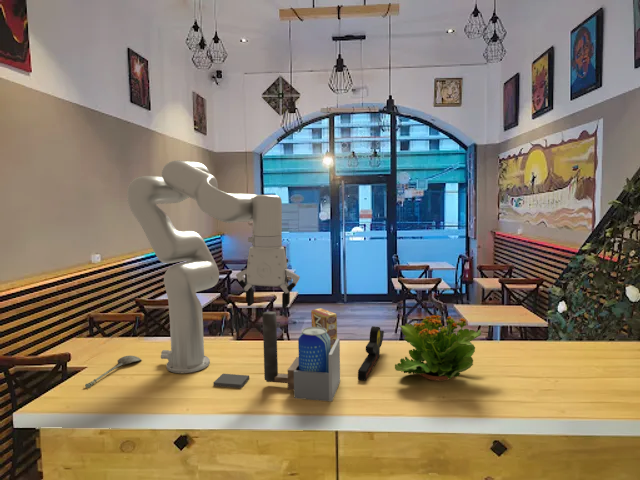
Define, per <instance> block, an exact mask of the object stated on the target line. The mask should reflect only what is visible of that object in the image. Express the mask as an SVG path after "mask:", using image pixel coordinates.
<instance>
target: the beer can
mask: <svg viewBox="0 0 640 480" xmlns="http://www.w3.org/2000/svg"><path fill="white" fill-rule="evenodd" d="M299 335H300V336H299V337H298V345H297V346H298V357H299V371H312V372H326V373H329V353H330V351H331V343H330V337H329V335H328V334H327V330H326V329H325V328H322V327H312V326H308V327H304V328H303V329H301V333H300V334H299Z"/></svg>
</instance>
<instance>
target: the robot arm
mask: <svg viewBox="0 0 640 480" xmlns="http://www.w3.org/2000/svg"><path fill="white" fill-rule="evenodd" d="M218 185H219V184H218V179H217V178H216V177H215V175H212V174H211V173H210V170H209V169H208V168H207V166H206V165H205V164H203V163H201V162H199V161H198V162H197V161H187V160H171V161H169V162H168V163H166V164H165V165H164V166H163V168H162V169H161V175H143V176H139V177H136V178H134V179H133V180H131V181H130V183H129V184H128V187H127V190H126V191H127V193H126V194H127V195H126V197H127V205H128V207H129V209H130V212H131V213H132V215H133V216H134V218H135V219H136V221H137V222H138V223H139V225H140V227H141V229H142V231H143V232H144V234H145V236H146V239H147V241H148V242H149V244H150V246H151V249H152V250H153V252H154V254H155V256H156V257H157V259H158V260H159V262H161V263H163V264H174V263H176V264H174V265H172V266H170V267H169V268H168V269H167V270H166V271H165V273H164V275H163V285H164V288H165V292H166V296H167V301H168V302H167V303H168V315H169V327H170V329H169V331H170V332H169V334H170V349H171V350H169V349H168V350H166V349H163V350H162V351H161V354H160V358H161V359H162V360H163V359H165V360H168V362H167V363H166V369H167V371H169V372H170V373H174V374H188V373H190V374H191V373H196V372H198V371H201V370H203V369H206V368H207V367H208V366H209V365H210V364H211V363H210V362H211V361H210V360H211V359H210V358H209V357H208V356H206V355H205V345H204V343H205V341H204V321H203V319H204V317H203V306H202V303H201V301H200V299H199V297H198V296H197V292H202V291H205V290H209V289H211V288H213V287H215V286H216V285H217V284H218V282H219V279H220V271H219V267H218V265H217V263H216V261H215V259H214V257H213V255H212V253H211V251H210V249H209V247H208V246H207V244H206V241H205V240H204V238H203V237H202V236H201V235H200V234H199V233H198V232H196V231H194V230H188V229H187V230H178V229H177V228H176V227H175V226H174V224H173V222H172V220H171V218H170V216H169V215H168V214H167V213H166V212H165V211H164V210H163V209H161V208H160V207H159V206H158V205H157V204H161V205H162V204H165V205H167V204H178V203H181V202H184V201H185V200H187V199H188V198H191V200H194V201H195V202H196V204H197V206H198V207H199V209H200V210H201V211H202V212H204V214H206V215H208V216H210V217H212V218H214V219H216V220H217V221H220V222H223V223H225V224H226V223H228V224H233V223H247V222H248V223H249V222H252V235H251V236H248V238H247V242H248V243H250V244H251V245H252V246H250V247H249V250H248V257H247V263H246V264H247V266H246V268H245V269H243V270H241V271H239V272H238V273H236V274H235V276H236V278H237V280H238V283H239V285H240V286H241V287H242V288H243V290H244V291H245V301H246V303H247V305H246V306H247V307H250V306H252V305H254V304H255V290H254V288H253V287H256V286H257V287H259V286H260V287H277V288H278V287H280V288H281V289H282V291H283V293H282V294H281V298H282V299H281V300H282V301H281V302H282V303H281V304H282V305H281V307H282V309H286V308H288V306H289V305H290V304H291V303H290V302H291V296H290V295H291V293H290V292H291V291H292V290H294V288H295V287H296V286H297V284H298V282H299V280H300V279H301V276H300V275H298V273H296V272H293V271H292V270H290V269H288V262H287V255H286V251H285V250H286V249H285V247H284V246H282V245H283V241H282V240H283V239H282V238H283V235H282V234H283V233H282V232H283V230H282V229H283V223H282V222H283V221H282V220H283V211H282V210H283V207H282V206H283V205H282V198H281V197H280V196H279V195H276V194H255V193H229V192H228V193H227V192H225V191H222V190H221V189H219V187H218ZM180 262H181V263H180ZM245 275H246V279H245V277H244V276H245ZM288 277H289V278H291V280H292V281H291V283H290V284H289V283H288V282H287V281H288Z"/></svg>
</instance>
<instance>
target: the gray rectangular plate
mask: <svg viewBox="0 0 640 480" xmlns="http://www.w3.org/2000/svg"><path fill="white" fill-rule="evenodd" d="M249 380H250V375H247V374H233V373H232V374H231V373H222V374H220V376H218V378H216V379H215V380H214V381H213V382H212V383H213V387H224V388H233V389H234V388H235V389H236V388H237V389H242V388H243V387H244V386H245V384H247V382H248V381H249Z"/></svg>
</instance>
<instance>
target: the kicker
mask: <svg viewBox="0 0 640 480" xmlns="http://www.w3.org/2000/svg"><path fill="white" fill-rule="evenodd" d="M277 328H278V327H277V312H276V311H264V312H262V334H263V342H262V343H263V368H264V369H263V371H264V372H263V373H264V376H263V377H264V380H265V381H266V383H276V384H277V383H278V384H287V390H290V391H294V370H298V371H299V356H297V357H296V358H294V360H293V361H292V363H291V364H290V366H289V368H288V369H287V373H278V372H279V369H278V368H279V366H278V333H277V331H278V329H277Z"/></svg>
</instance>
